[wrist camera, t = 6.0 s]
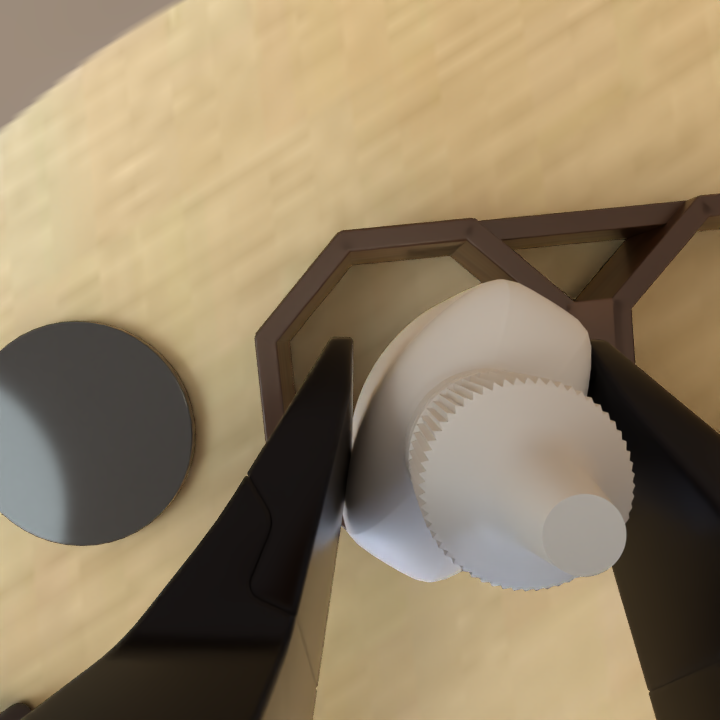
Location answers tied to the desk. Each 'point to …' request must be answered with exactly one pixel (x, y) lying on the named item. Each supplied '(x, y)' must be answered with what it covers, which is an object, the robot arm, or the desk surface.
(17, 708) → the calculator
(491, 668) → the desk surface
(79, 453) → the coaster
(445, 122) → the desk surface
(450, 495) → the eye dropper bottle
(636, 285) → the rack
